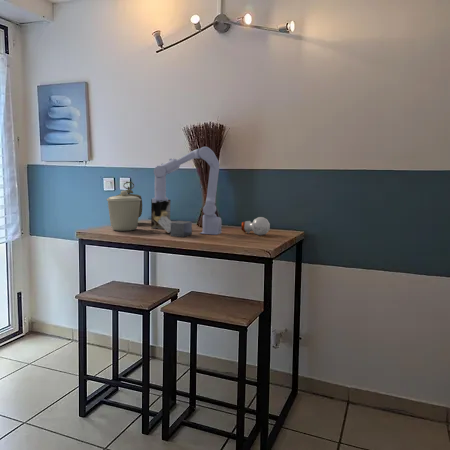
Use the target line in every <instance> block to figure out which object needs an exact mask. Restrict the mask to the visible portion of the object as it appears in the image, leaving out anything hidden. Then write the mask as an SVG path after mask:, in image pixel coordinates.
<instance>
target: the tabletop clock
mask: <svg viewBox="0 0 450 450" xmlns="http://www.w3.org/2000/svg"><path fill="white" fill-rule="evenodd" d="M126 184H132V185H133V186H132V187H130V186H127V187H125V185H126ZM134 187H135V184H134V182H132V181H126V182H124V183H123V188H124V189H125V191H127V195H126V196H135V197H139V198H140V199H141V201H140V208H139V218H141V217H142V214H143V199H142V195H140V194H135V193H134V191H133V190H132V189H134ZM115 196H122V195H121V193H120V194H117V195H115Z"/></svg>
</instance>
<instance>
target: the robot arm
mask: <svg viewBox="0 0 450 450" xmlns="http://www.w3.org/2000/svg"><path fill="white" fill-rule="evenodd" d="M193 159H194V160H195V159H202V160H203V161H205V163H207V165H208V166H209V175H208V183H207V190H206V199H205V204H204V206H203V208H202V212H203V215H202V231H201V232H199V234H201V235H216V236H217V235H220V234H222V233H223V232H222V217H220V216H217V214H216V212H217V206H216V200H217V199H216V197H217V189H218V179H219V171H220V161H219V160H218V157H217V156H216V154H215V152H214V150H212V149H211V148H210V147H208V146H202V147H200V148H197V149H194V150H191V151H190V152H188V153H187V154H184V155H183V156H181V157H178V158H169V159H168V161H166V162H161V163H160V165H156V166H155V167H154V168H153V175H154V197H152V198H151V199H152V203H151V202H150V203H151V204H152V206H153V208H154V211H155V215H156V216H158V217H160V213H161V210H165V211H166V209H167V206H168V204H169V202H166V201H168V200H169V197H167V180H166V175H168V174H172V173H174V172H175V171H177V170H179V169H180V166H181V165H183V164H186V163H188V162H190V161H192V160H193ZM160 200H163V201H160Z"/></svg>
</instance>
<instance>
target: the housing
mask: <svg viewBox="0 0 450 450" xmlns="http://www.w3.org/2000/svg"><path fill="white" fill-rule="evenodd" d="M172 222H173V223H171V233H170V237H175V238H176V237H178V238H185V237H188V236H191V235H192V234H193V231H192V230H193V221H187V220H177V221H172Z"/></svg>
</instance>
